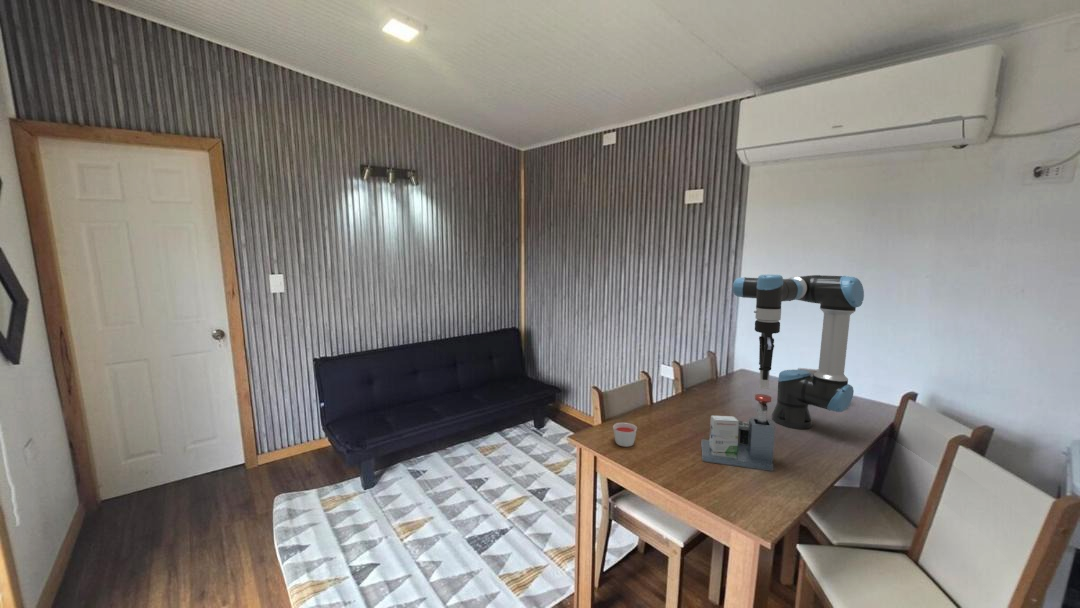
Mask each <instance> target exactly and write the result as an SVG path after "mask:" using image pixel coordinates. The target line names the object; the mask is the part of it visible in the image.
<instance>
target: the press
mask: <svg viewBox="0 0 1080 608" xmlns="http://www.w3.org/2000/svg"><path fill="white" fill-rule="evenodd" d="M773 422H774V421H773V420H772V419H768V418H767V419H766V425H762V424H757V417H748V424H749V431H748V445H744V444H738V451H737V453H732V452H713V451H712V449H711V448H710V446H709V440H710V439H705V438H703V439H702V438H701V443H700V444H701V458H702V459H701V460H702V462H704V463H705V462H706V463H713V464H719V465H720V464H721V465H727V466H735V467H741V468H749V469H754V470H761V471H767V472H768V471H769V472H773V471H774V463H773V461H774V449H775V433H776V431H775V430H776V427H775V425H774V423H773Z"/></svg>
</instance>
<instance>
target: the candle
mask: <svg viewBox="0 0 1080 608" xmlns="http://www.w3.org/2000/svg"><path fill="white" fill-rule="evenodd" d="M612 428H613V433H614V434H613V436H614V439H615V440H614V441H615V443H616V445H618V446H621V447H628V448H629V447H632V446H633V445H634V444H635V440H636V435H637V430H638V427H637V425H635V424H633V423H630V422H616V423H614V425H612Z"/></svg>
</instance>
